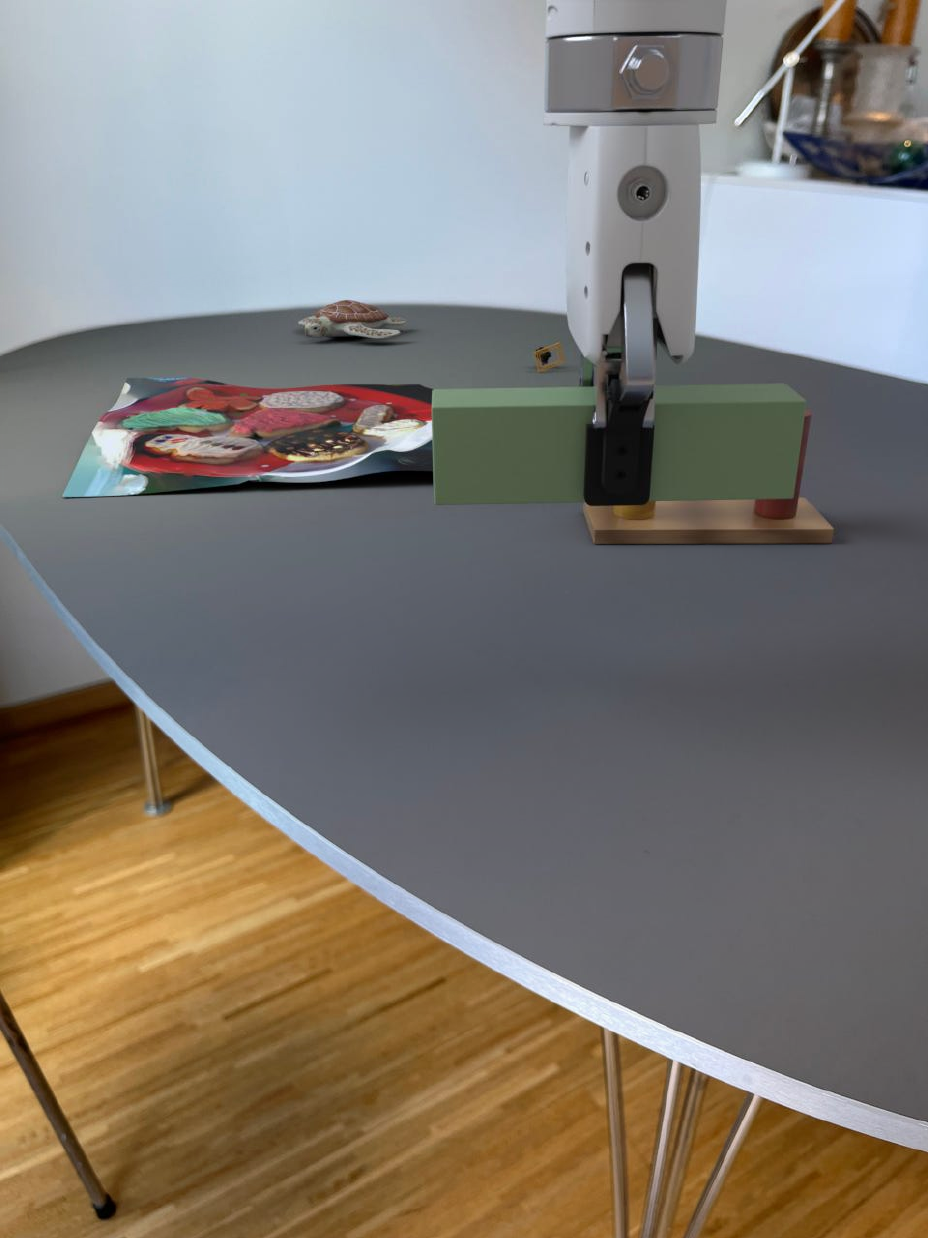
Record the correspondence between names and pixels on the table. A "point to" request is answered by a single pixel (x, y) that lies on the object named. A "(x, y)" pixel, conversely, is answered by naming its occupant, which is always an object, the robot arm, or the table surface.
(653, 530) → the rods
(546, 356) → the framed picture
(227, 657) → the table surface
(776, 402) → the bar
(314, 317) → the decorative turtle
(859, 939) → the table surface
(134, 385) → the printed food placemat
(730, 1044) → the table surface
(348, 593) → the table surface
